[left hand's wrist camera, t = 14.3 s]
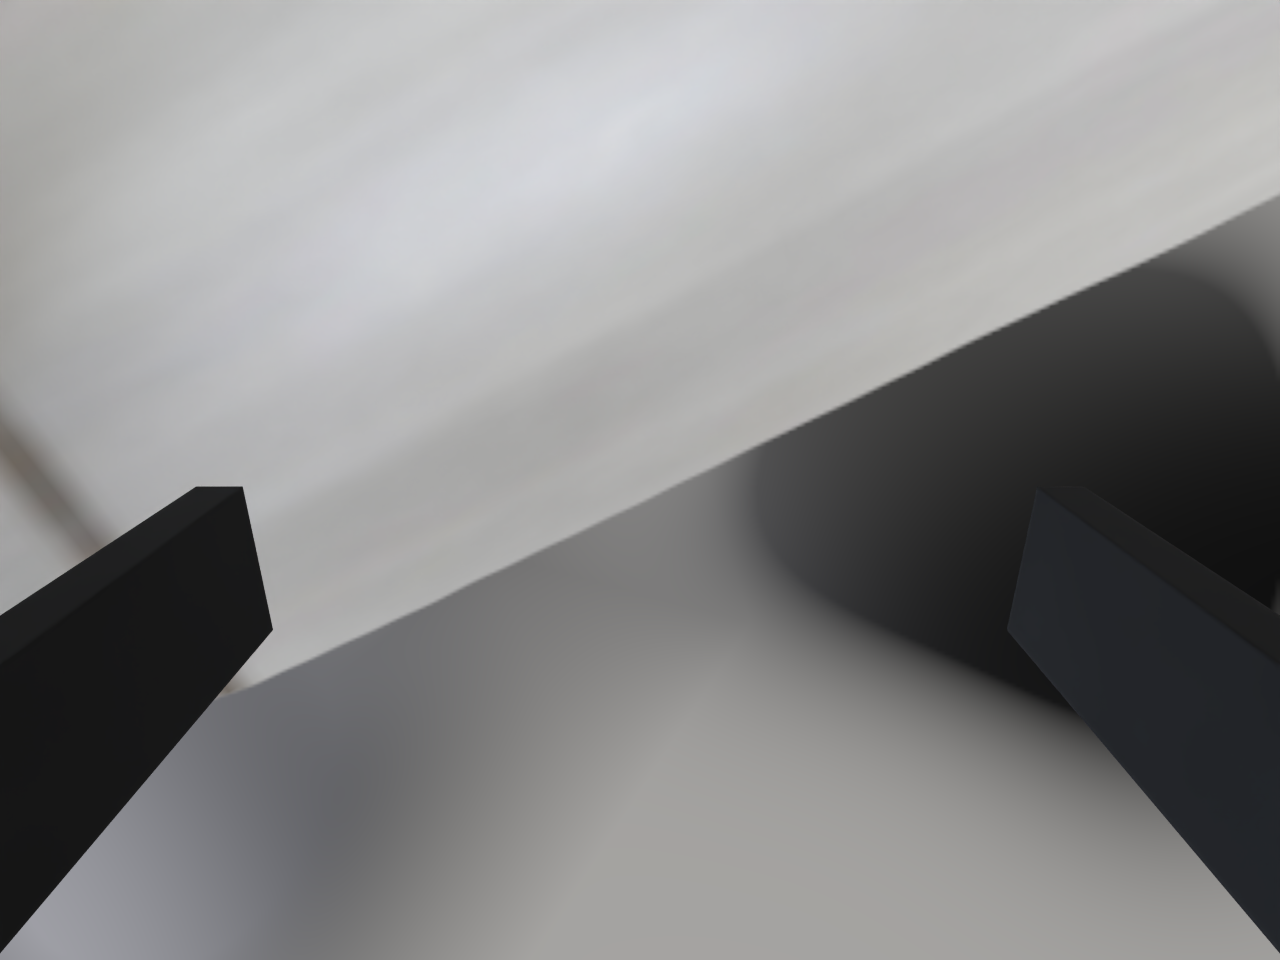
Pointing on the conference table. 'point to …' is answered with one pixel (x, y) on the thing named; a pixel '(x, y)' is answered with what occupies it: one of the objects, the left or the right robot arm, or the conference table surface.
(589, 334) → the conference table surface
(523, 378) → the conference table surface
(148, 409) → the conference table surface
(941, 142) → the conference table surface
